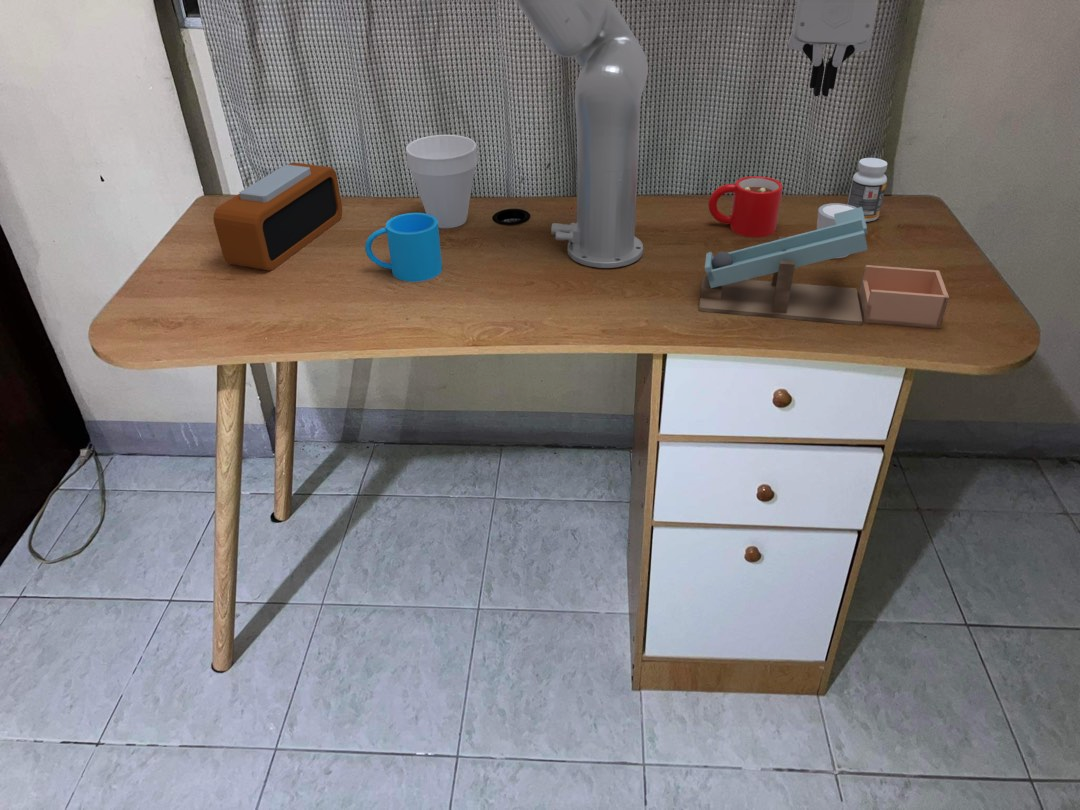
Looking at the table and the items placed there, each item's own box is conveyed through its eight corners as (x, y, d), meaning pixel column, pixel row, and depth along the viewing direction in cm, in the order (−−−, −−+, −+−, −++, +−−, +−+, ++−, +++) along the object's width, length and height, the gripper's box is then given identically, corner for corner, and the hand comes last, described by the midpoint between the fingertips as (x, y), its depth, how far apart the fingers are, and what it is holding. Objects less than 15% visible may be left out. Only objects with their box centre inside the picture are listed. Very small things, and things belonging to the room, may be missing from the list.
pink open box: (863, 322, 119) (871, 291, 116) (858, 294, 126) (865, 265, 123) (939, 328, 117) (949, 297, 114) (930, 300, 124) (939, 270, 121)
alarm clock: (267, 275, 135) (251, 209, 128) (225, 268, 137) (207, 203, 131) (344, 217, 153) (334, 157, 146) (306, 212, 155) (294, 152, 149)
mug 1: (443, 257, 139) (439, 211, 134) (440, 281, 132) (436, 233, 127) (372, 260, 138) (364, 214, 134) (365, 283, 132) (357, 236, 127)
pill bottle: (882, 222, 146) (896, 168, 140) (849, 223, 146) (861, 168, 140) (872, 209, 151) (885, 156, 145) (841, 210, 151) (852, 156, 145)
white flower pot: (444, 201, 158) (438, 129, 150) (495, 216, 152) (491, 142, 144) (399, 224, 150) (390, 149, 142) (451, 240, 144) (444, 163, 136)
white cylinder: (855, 261, 134) (865, 221, 130) (811, 258, 136) (819, 218, 132) (851, 243, 140) (860, 203, 136) (809, 240, 141) (817, 201, 137)
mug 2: (706, 216, 150) (710, 174, 145) (774, 219, 148) (780, 176, 144) (706, 235, 144) (711, 191, 139) (777, 238, 142) (784, 194, 137)
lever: (711, 290, 122) (704, 269, 121) (714, 251, 133) (709, 231, 131) (872, 251, 114) (867, 228, 112) (863, 212, 124) (858, 191, 122)
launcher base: (698, 310, 123) (704, 259, 118) (702, 279, 130) (707, 229, 125) (861, 325, 118) (874, 272, 114) (855, 291, 126) (867, 240, 121)
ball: (711, 275, 123) (711, 257, 121) (712, 266, 125) (712, 248, 123) (732, 275, 122) (732, 257, 120) (733, 266, 124) (733, 248, 123)
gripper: (786, -50, 105) (765, 99, 116) (912, -48, 102) (879, 104, 113) (784, -58, 111) (765, 84, 122) (904, -57, 108) (873, 88, 119)
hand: (820, 93), depth 117 cm, fingers closed
